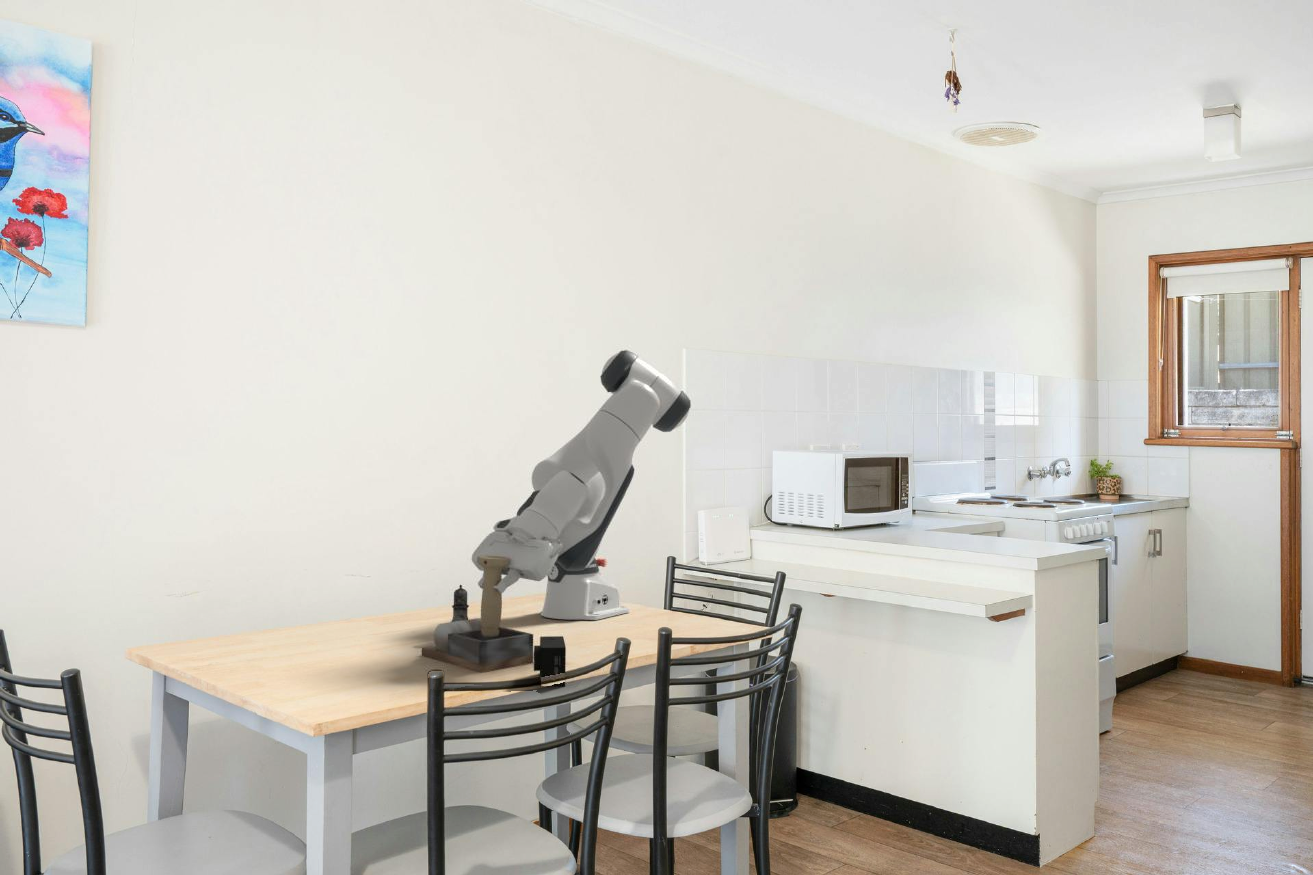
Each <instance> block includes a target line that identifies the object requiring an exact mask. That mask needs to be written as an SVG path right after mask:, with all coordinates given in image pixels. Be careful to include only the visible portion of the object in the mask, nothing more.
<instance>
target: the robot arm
mask: <svg viewBox="0 0 1313 875" xmlns="http://www.w3.org/2000/svg"><path fill="white" fill-rule="evenodd" d="M599 378H600V383H601V385H602V386H603V388H604V389H605V391H606V392H607V393H611V394H612V395H610V397H608V398H607V400H606V401H605V402H604V403H603V405H602V406H601V407H600V408H599V409H598V411H597V412H596V413H595V414H594V416H593V417H592V418H591V419H590V420H589V421H588V423H587V424H586V425H585V426H584V427H583V429H581V431H579V433H577V434H576V435H575V436H574V437H572V439H570V440H569V441H568V442H567V443H565V444H564V445H563V446H562V447H561V448H559V449H558V450H557V451H556V452H554V453H553V454H552V455H550V456H549V457H546V458H545V459H543V460H541V461H540V462H538V463H537V464H536V465H535V466H534V468H533V470H532V473H531V485H532V488H533V490H534V491H532V493H531V495H529V497H528V498H527V499H526V501H524V502H523V504H522V505H520V507H519V508H518V510H517V512H516V516H513V517H512V518H507V519H503V520H499V521H497V522H496V523H495V524H494V526H493V530H494V531H492V532H490V533H489V534H487V535H486V537H485V538H484V539H483V540H482V541H481V543H480V544H478V546H477V547H476V549H475V550H474V551H473V553H472V555H471V562H472V563H473V564H474V566H475V567H476V569H478V570H479V571H481V572H483V573H482V577H481V578H480V579H479V581H478V582H477V585H478V587H479V588H480V589H482V590H483V582H484V568H483V567H482V566H481V565H479V564H478V563H477V557H478V556H500V557H507V558H510V563H509V565H508V566H507V567H505V568H503V569H502V575H503V576H504V577H502V580H498V581H497V582H496V584H494V586H493V587H494V589H495V590H496V591H497V592H500V593H502V594H503V593H504V592H505V591H506V590H507V589H508V588H509V587H511V586H513V585H514V584H515V583H517V582H518V581H519V580H520V579H524V580H529V581H534V582H540V581H542V580H544V579H545V578H546V577H547V584H546V588H545V589H546V591H545V597H544V602H543V607H542V611H541V614H540V615H541V616H542V617H545V618H549V619H555V620H557V619H558V620H584V621H585V620H588V621H589V620H590V621H597V620H601V619H605V618H611V617H614V616H619V615H623V614H627V613H630V608H629V607H628V606H625V605H622V604H621V602H620V600H621V599H620V592H619V589H618V587H617V586H616V585H615V584H613V583H612V582H611V581H610V580H609V579H608V578H606V577H605V576H604V575H603V574H602V573H600V568H599V567H601V568H605V567H607V565H608V564H607V563H608V561H607V559H606V558H601V557H599V558H598V559H596V556H597V554H598V552H599V550H600V546H601V543H602V540H603V538H604V535H605V534H606V532H607V530H608V528H609V526H610V524H611V522H612V521H613V518H614V517H615V514H616V512H617V511H618V509H619V507H620V505H621V503H622V501H623V499H624V497H625V496H626V494H627V491H628V489H629V487H630V485H631V483H632V480H633V478H634V474H635V467H634V464H633V457H634V456H633V455H634V453H635V450H636V448H637V447H638V445H639V443H640V442H641V441H642V440H643V438H644V437H645V436H646V434H647V432H648V431H649V429H650V428H651V426H652V427H653V428H654V429H656V430H658V431H660V432H663V433H668V432H669V433H670V432H672V431H673V430H676V429H677V428H679V427H681V426H682V424H683V423H684V422H685V421H686V419H687V417H688V416H689V413H690V408H691V405H692V404H691V399H690V397H689V396H688V395H687V394H686V393H685V391H684V390H680V389H679V387H678V386H677V385H676V384H675V383H674V382H673V381H671V379H669V378H668V377H667V376H666V375H665V374H664V373H663V372H660V371H659V370H657V369H656V368H655V367H653V366H652V365H651V364H649V363H648V362H646V361H645V360H643V359H641V358H640V357H639V355H638V354H636V353H634V352H633V351H630V350H627V349H625V350H620V351H619V352H617V353H615V354H613V355H612V356H611V357H610V358H608V359H607V361H606V362H605V363H604V365H603V367H602V371H601V375H600V377H599Z"/></svg>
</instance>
